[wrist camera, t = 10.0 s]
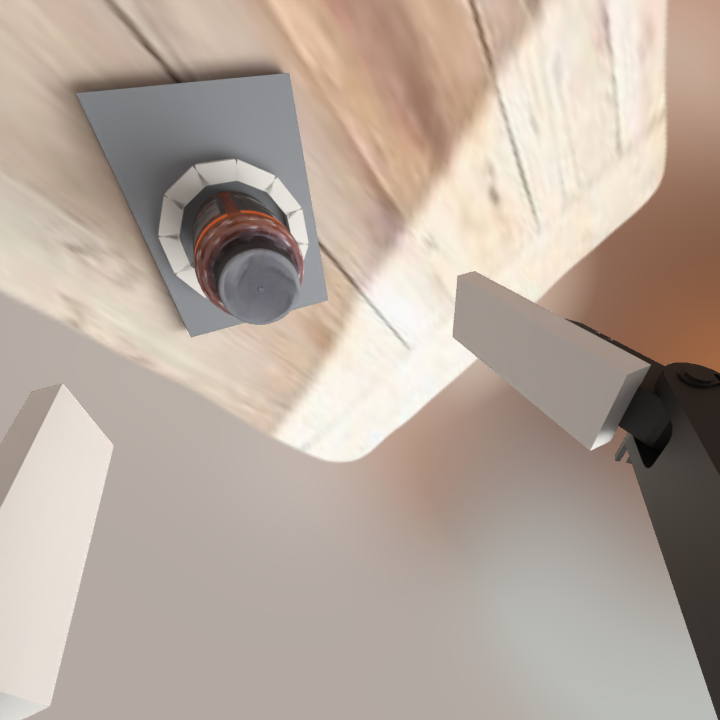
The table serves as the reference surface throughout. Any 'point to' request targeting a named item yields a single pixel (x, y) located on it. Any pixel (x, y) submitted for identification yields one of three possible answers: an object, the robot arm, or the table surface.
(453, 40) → the table surface
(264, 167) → the hub board
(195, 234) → the supplement bottle
